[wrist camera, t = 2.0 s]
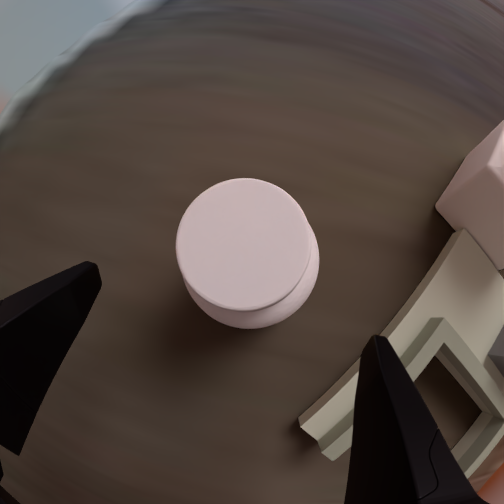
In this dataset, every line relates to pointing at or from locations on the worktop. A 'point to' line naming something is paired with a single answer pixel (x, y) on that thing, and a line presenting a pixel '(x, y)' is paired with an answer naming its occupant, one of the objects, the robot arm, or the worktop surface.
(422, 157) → the worktop surface
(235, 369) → the worktop surface
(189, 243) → the supplement bottle
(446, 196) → the medicine bottle
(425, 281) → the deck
